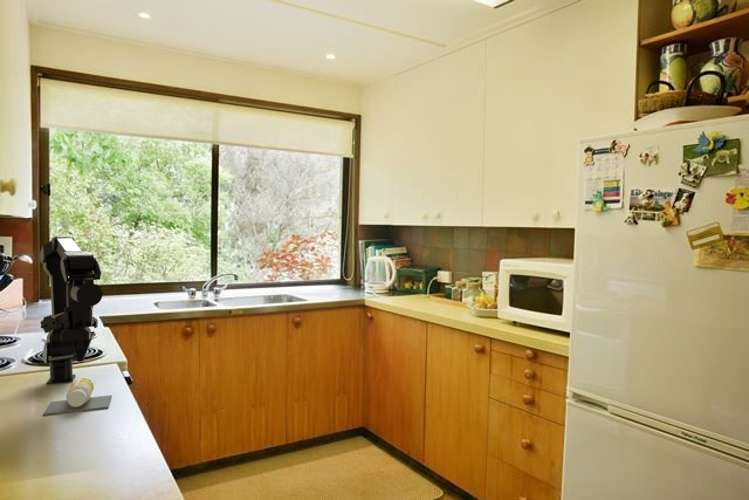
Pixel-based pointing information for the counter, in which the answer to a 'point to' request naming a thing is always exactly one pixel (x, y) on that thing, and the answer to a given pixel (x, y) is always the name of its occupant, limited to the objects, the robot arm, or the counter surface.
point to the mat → (65, 407)
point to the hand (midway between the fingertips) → (80, 361)
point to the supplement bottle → (79, 392)
